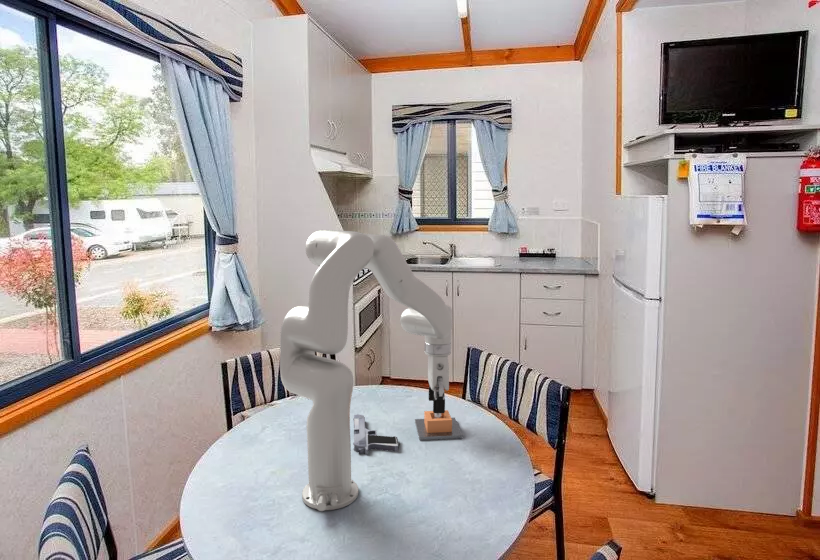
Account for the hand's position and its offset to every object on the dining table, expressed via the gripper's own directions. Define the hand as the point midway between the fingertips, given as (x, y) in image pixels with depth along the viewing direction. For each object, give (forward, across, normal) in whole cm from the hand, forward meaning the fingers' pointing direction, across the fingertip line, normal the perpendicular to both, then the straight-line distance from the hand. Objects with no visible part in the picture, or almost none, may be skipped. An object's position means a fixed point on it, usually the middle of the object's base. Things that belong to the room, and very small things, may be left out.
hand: (436, 406), depth 151 cm
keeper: (+7, +1, -1) cm, 7 cm away
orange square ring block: (+6, +1, -1) cm, 6 cm away
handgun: (+9, -1, +18) cm, 20 cm away
